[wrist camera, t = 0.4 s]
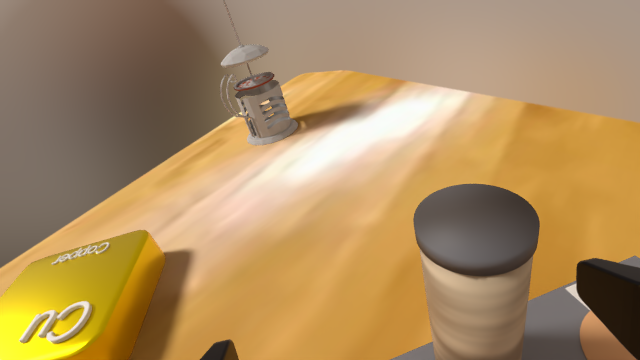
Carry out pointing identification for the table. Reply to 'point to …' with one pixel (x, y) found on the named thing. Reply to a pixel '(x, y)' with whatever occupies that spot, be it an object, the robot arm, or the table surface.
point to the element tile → (82, 301)
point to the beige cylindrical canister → (476, 269)
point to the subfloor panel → (558, 330)
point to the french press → (258, 97)
